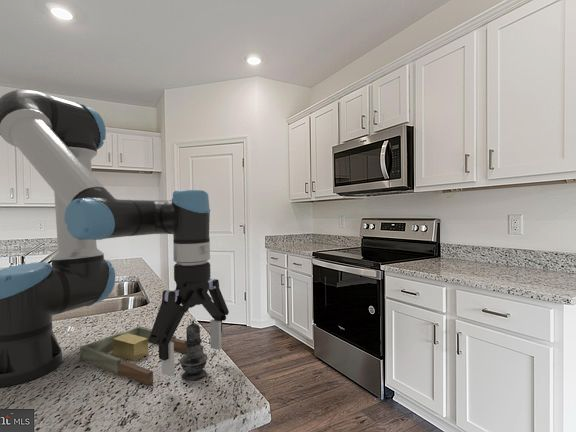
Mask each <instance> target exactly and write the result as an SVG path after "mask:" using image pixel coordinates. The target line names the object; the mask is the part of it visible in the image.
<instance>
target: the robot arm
mask: <svg viewBox="0 0 576 432" xmlns="http://www.w3.org/2000/svg"><path fill="white" fill-rule="evenodd" d="M0 136H1V137H2V139H3V140H4V141H5V142H6V143H7V144H9V145H11V146H13V147H17V149H18V150H19V152H21V153H22V155H23V156H24V157H25V158H26V160H27V161H28V162H29V163H30V165H32V166H33V168H34V169H35V170H36V172H37V173H38V174H39V175H40V176H41V178H43V180H44V181H45V182H46V184H47V185H48V186H49V187H50V188H51V189H52V190H53V194H54V210H55V223H56V225H55V227H56V238H57V239H56V240H57V252H56V253H55V254H54V255H53V256H52V257H51V259H50V262H51V264H50V263H48V262H30V263H23V264H18V265H13V266H10V267H5V268H1V269H0V388H3V387H9V386H14V385H18V384H22V383H26V382H29V381H33V380H35V379H38V378H40V377H43V376H45V375H47V374H49V373H50V372H53V371H54V370H56V369H57V368H58V367H59V366H60V365H61V364H62V363H63V351H62V347H60V344H59V342H58V340H57V337H56V335H55V333H54V330H53V316H56V315H59V314H62V313H65V312H70V311H73V310H77V309H80V308H84V307H90V306H93V305H95V304H97V303H100V302H102V301H104V300H106V299H107V298H108V297H109V295H111V294H112V292H113V290H114V288H115V284H116V272H115V271H116V270H115V267H113V266H112V265H113V264H112V262H111V261H109V260H108V259H105V256H104V252H102V251H101V250H100V249H98V247H97V246H98V245H97V241H98V240H99V241H101V240H105V239H115V238H123V237H124V238H125V237H135V236H149V235H172V236H173V239H172V241H173V242H172V243H173V262H174V263H175V264H174V265H173V278H174V279H173V280H174V283H175V285H176V286H175V290H168V289H166V290H165V289H164V290H162V296H161V303H160V306H159V309H158V312H157V315H156V317H155V320H154V322H153V325H152V328H151V329H152V331H151V334H150V337H149V341H150V343H152V344H153V343H154V344H156V345H158V358H159V360H161V374H163V375H166V376H167V377H174V376H175V350H174V342H171V341H170V340H171V338H172V336H173V335H174V334H175V333H176V331H177V329H178V327H179V325H180V324H181V320H182V319H183V317H184V315H185V313H187V312H188V311H190V310H189V309H190V308H194V307H195V306H203V308H204V310H206V311H207V313H208V314H209V315H210V316H211V318H212V319H210V321H209V329H210V330H209V331H210V340H209V341H210V342H209V343H210V344H209V345H210V349H212V350H213V349H214V350H217V351H221V350H222V333H223V322H224V321H226V319H227V316H228V315H229V308H228V306H227V304H226V301H225V298H224V296H223V294H222V292H221V289H220V281H219V279H216V278H211V263H210V262H209V260H210V259H211V247H210V246H211V240H210V239H211V237H210V220H211V219H210V218H211V217H210V216H211V209H210V200H209V199H210V198H209V194H208V192H207V191H205V190H203V189H179V190H174V191H173V192H172V197H171V198H172V199H170V200H145V199H144V200H143V199H142V200H141V199H117V198H115V196H113V195H112V193H111V192H110V191H108V189H107V188H105V186H104V185H103V184H102V183H101V181H99V180H98V178H97V177H96V176H95V175H94V174H93V171H92V160H93V159H94V158H95V157H96V156H97V155H98V151H97V150H99V149H101V148H102V147H103V145H104V143H105V142H104V141H105V140H106V137H107V129H106V125H105V121H104V120H103V117H102V116H101V115H100V114H99V112H97V111H96V110H95V109H94V108H92V107H90V106H86V105H85V104H82V103H80V102H73V101H70V100H67V99H63V98H61V97H57V96H53V95H50V94H48V93H44V92H40V91H37V90H33V89H17V90H11V91H9V92H6V93H4V94H3V95H1V96H0ZM208 292H209V294H208ZM165 335H166V337H165ZM149 341H148V342H149Z"/></svg>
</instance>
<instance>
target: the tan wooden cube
mask: <svg viewBox="0 0 576 432" xmlns="http://www.w3.org/2000/svg"><path fill="white" fill-rule="evenodd" d="M148 355H149V341H148V338H145V337H141V336H135V337H133V338H130V339H128V340H125V341H123V357H122V358H125V359H128V360H131V361H137V360H138V359H141V358H143V357H145V356H148Z"/></svg>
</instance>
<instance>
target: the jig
mask: <svg viewBox="0 0 576 432" xmlns="http://www.w3.org/2000/svg"><path fill="white" fill-rule="evenodd" d="M151 331H152V328H148V327H145V326H141V325H139V326H136V327H134V328H131V329H127V330H125V331H122V332H119V333H116V334H113V335H110V336H107V337H105V338H101V339H98V340H96V341H93V342H90V343H87V344H84V345H82V346H79V356H80V360H81V361H84V362H86V363H88V364H91V365H93V366H96V367H99V368H101V369H103V370H106V371H108V372H110V373H113V374H115V375H121V376H124V377H126V378H128V379H130V380H133V381H134V382H137V381H138V383H140V384H143V385H145V386H147V385H149V386H150V384H151V385H153V384H154V371H153V370H151V369H148V368H145V367H143V366H140V365H138V364H135V363H132V362H129V361H126V360H122V358H120V357H118V356H117V357H116V355H113V354H112V355H111V354H109V353H107V351H110V350H113V341H112V339H113V338H115V337H118V336H121V335H123V334H126V333H129V334H133V335H136V336H141V337H145V338H148V343H149V342H150V341H149V337H150V334H151ZM165 337H166V335H165ZM170 341H171V342H174V352H175V351H176V352H178V353H182V354H185V355H186V344H185V341H186V340H183V339H180V338H177V335H173V336H172V338H171V340H170ZM150 343H151V342H150ZM105 352H106V353H105ZM201 352H202V353H204V345H202V344H201ZM152 383H153V384H152Z"/></svg>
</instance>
